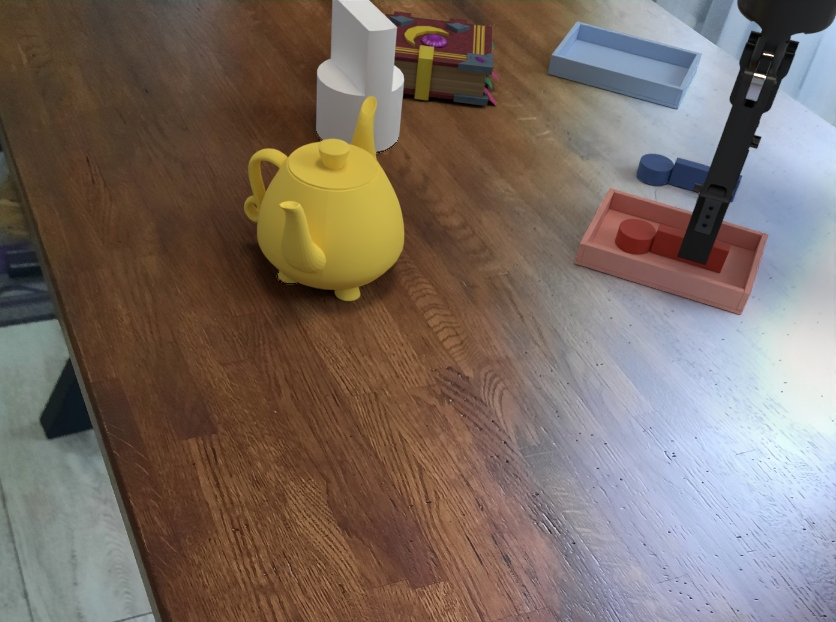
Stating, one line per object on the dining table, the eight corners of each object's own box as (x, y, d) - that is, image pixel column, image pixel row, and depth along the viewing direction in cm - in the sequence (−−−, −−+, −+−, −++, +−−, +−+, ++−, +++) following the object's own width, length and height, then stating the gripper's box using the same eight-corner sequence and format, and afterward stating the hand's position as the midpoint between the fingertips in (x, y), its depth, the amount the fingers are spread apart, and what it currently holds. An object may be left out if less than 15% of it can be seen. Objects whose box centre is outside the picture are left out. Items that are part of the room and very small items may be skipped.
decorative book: (364, 49, 112) (367, 4, 108) (496, 65, 113) (504, 20, 109) (355, 93, 105) (358, 46, 101) (496, 110, 106) (504, 64, 102)
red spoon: (724, 261, 90) (733, 238, 88) (717, 280, 88) (727, 257, 86) (619, 229, 92) (626, 207, 90) (610, 247, 90) (617, 225, 88)
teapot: (288, 192, 92) (287, 71, 83) (430, 231, 90) (445, 110, 81) (197, 304, 80) (185, 177, 71) (357, 351, 78) (366, 226, 69)
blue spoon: (736, 191, 99) (744, 170, 97) (730, 207, 97) (738, 186, 95) (640, 164, 101) (647, 142, 99) (632, 179, 99) (639, 157, 97)
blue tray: (696, 72, 116) (702, 53, 114) (677, 109, 109) (683, 90, 108) (572, 39, 119) (577, 20, 117) (547, 73, 112) (551, 54, 111)
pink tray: (759, 253, 92) (769, 233, 90) (740, 315, 86) (750, 294, 84) (603, 207, 95) (609, 187, 93) (574, 263, 89) (579, 242, 87)
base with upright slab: (413, 147, 99) (425, 24, 90) (336, 160, 96) (341, 35, 87) (376, 107, 104) (385, -13, 94) (302, 119, 101) (303, -4, 91)
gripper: (774, -93, 76) (684, 175, 94) (730, -5, 64) (637, 282, 82) (867, -73, 75) (758, 195, 93) (839, 20, 63) (720, 306, 81)
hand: (701, 235), depth 88 cm, fingers open, 8 cm apart
